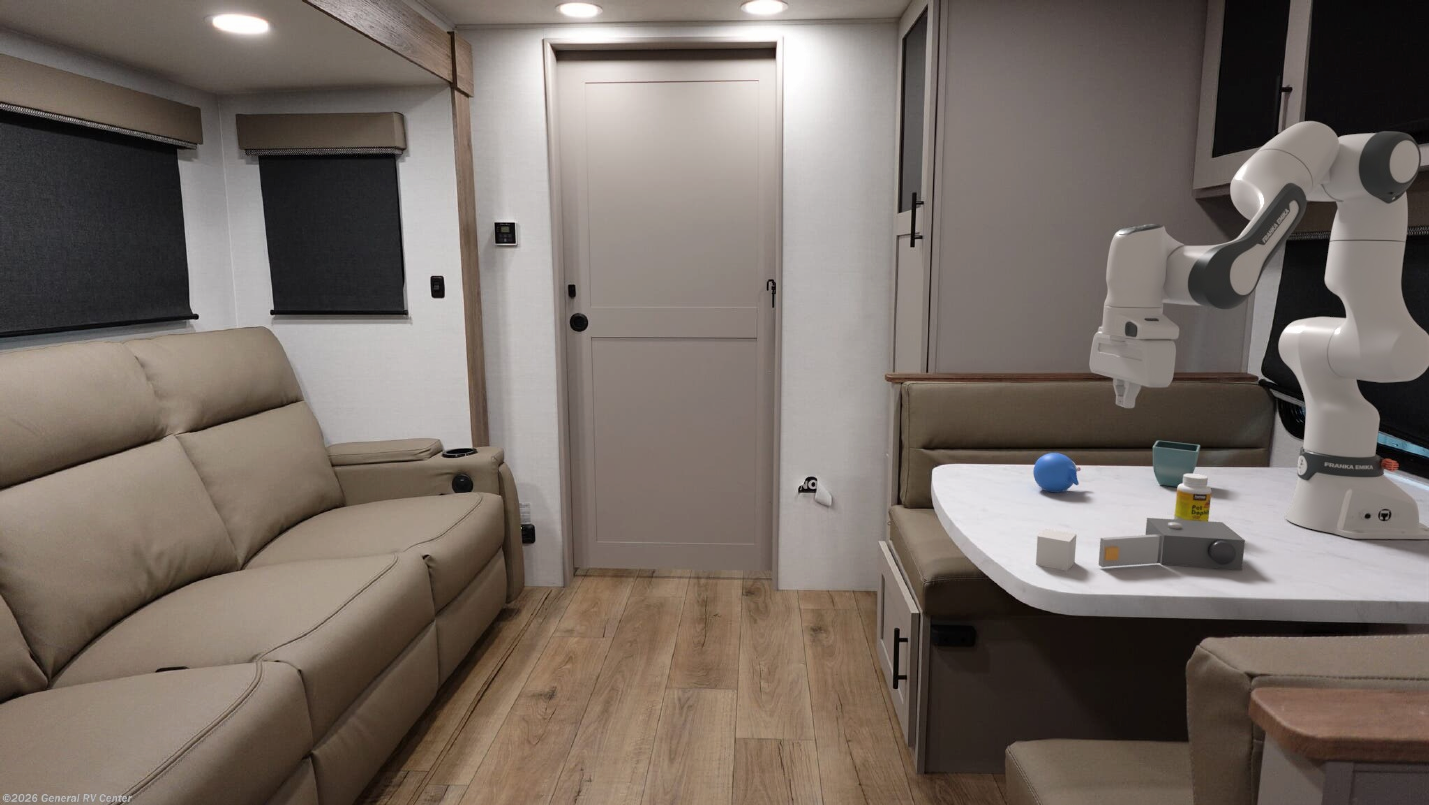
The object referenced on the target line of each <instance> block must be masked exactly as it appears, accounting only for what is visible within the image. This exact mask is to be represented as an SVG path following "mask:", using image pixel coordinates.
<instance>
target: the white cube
mask: <svg viewBox="0 0 1429 805" xmlns="http://www.w3.org/2000/svg"><path fill="white" fill-rule="evenodd" d="M1077 537H1078V536H1077V533H1073V532H1068V531H1061V530H1057V529H1051V528H1044V530H1042V532H1041V533H1039V535H1037V541H1036V542H1037V543H1036V556H1035V557H1036V558H1035V566H1041V567H1047V568H1051V569H1057V570H1063V571H1069V570H1070V568H1071V567H1072V566H1073V564H1075V561H1076V545H1077Z"/></svg>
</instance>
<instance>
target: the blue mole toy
mask: <svg viewBox="0 0 1429 805" xmlns="http://www.w3.org/2000/svg"><path fill="white" fill-rule="evenodd" d="M1081 469H1082V468H1081V467H1080V466H1077V464H1076V463H1075V462H1074V461H1073V459H1071V458H1070V457H1068V456H1067V455H1065V454H1062V453H1059V452H1049V453H1046V454H1043V455H1042V456H1040V457H1038V459H1037V460H1036V461H1035V464H1034V466H1033V471H1032V473H1033V478H1034V481H1035V483H1036V484H1037V486H1039V487H1040V488H1041V489H1042V490H1044V491H1047V492H1049V493H1050V492H1051V493H1061V492H1066V491H1067V490H1069V489H1070V488H1071V487H1072V486H1073V485H1075V486H1078V485H1079V484H1080V482H1079V480H1078V475H1077V473H1078V472H1080V471H1081Z"/></svg>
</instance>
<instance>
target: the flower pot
mask: <svg viewBox="0 0 1429 805" xmlns="http://www.w3.org/2000/svg"><path fill="white" fill-rule="evenodd" d="M1200 450H1201V445H1200V444H1194V443H1185V442H1184V443H1183V442H1175V441H1168V440H1167V441H1166V440H1156V441H1155V442H1154V444H1153V446H1152V468H1153V474H1154V476H1155V479H1156V482H1157V483H1158V484H1159V485H1161V486H1168V487H1175V488H1177V487H1178V485H1179V484H1182V483H1183V475H1184V474H1194V472H1195V469H1196V467H1197V462H1198V458H1199V453H1200Z"/></svg>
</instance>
